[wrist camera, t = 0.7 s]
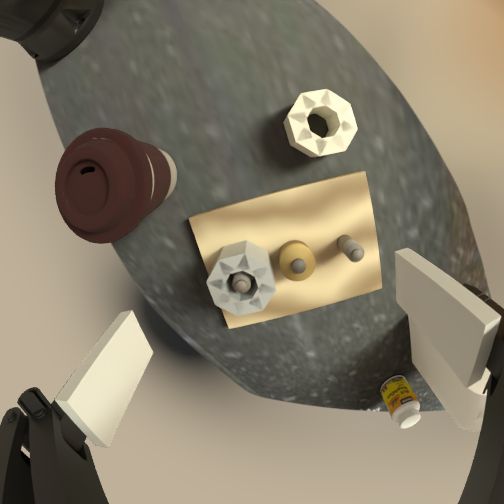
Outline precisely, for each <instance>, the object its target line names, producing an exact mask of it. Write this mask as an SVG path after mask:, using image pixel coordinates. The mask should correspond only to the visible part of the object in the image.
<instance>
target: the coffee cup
mask: <svg viewBox="0 0 504 504" xmlns="http://www.w3.org/2000/svg"><path fill="white" fill-rule="evenodd" d="M176 181H177V170H176V166H175V164H174V161H173V160H172V158H171V157H170V156H169V155H168V154H167V153H166V152H164V151H162V150H160V149H157V148H156V147H154V146H153V145H150V144H148V143H145V142H141V141H138V140H135V139H134V138H133V137H131V136H130V135H128V134H127V133H125V132H123V131H120V130H116V129H110V128H96V129H92V130H89V131H86V132H84V133H83V134H81V135H80V136H78V137H77V138H76V139H75V140H74V141H73V142H72V143H71V144H70V145H69V146H68V147H67V149H66V150H65V152H64V154H63V155H62V158H61V160H60V162H59V165H58V168H57V172H56V180H55V195H56V201H57V205H58V208H59V211H60V213H61V215H62V217H63V219H64V221H65V223H66V224H67V225H68V227H69V228H70V229H71V230H72V231H73V232H74V233H75V234H76V235H78V236H79V237H81V238H83V239H85V240H87V241H89V242H93V243H101V244H102V243H110V242H113V241H116V240H118V239H120V238H122V237H124V236H125V235H127V234H128V233H130V232H131V231H132V230H134V229H135V228H136V227H137V226H138V224H139V223H140V222H141V220H142V219H143V217H145V216H146V215H147V214H149V213H150V212H152V211H153V210H154V209H156V208H157V207H158V206H159V205H160V204H161V203H162V202H163V201H164V200H166V199H167V198H168V197H169V196H170V195H171V193H172V192H173V190H174V188H175V185H176Z"/></svg>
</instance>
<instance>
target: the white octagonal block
mask: <svg viewBox="0 0 504 504" xmlns="http://www.w3.org/2000/svg"><path fill="white" fill-rule="evenodd" d="M311 114H317V115H319V116H321V117H322V118H324V119H326V122H327V126H328V129H329V131H328V133H327V134H326V136H325V138H321V137H319V136H318V135H316V134H314V133H313V132H311V131H310V128H309V125H308V121H307V117H308V115H311ZM283 123H284V127H285V130H286V133H287V137H288V140H289V143H290V145H291V146H293V147H294V148H296V149H298V150H299V151H301V152H303V153H304V154H306V155H308V156H309V157H318V156H323V155H328V154H332V153H337V152H342V151H346V149H347V147H348V145H349V144H350V142H351V140H352V138H353V137H354V135H355V133H356V131H357V125H356V121H355V118H354V115H353V111H352V108H351V105H350V103H348V102H347V101H345V100H344V99H342V98H341V97H339V96H337V95H336V94H334V93H333V92H331V91H329V90H328V89H324V90H318V91H312V92H306V93H301V94H300V96H299V97H298V99H297V101H296V102H295V104H294V105H293V107H292V109H291V110H290V112H289V114H288V115H287V117H286V119H285V120H284V122H283Z"/></svg>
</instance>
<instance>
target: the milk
mask: <svg viewBox="0 0 504 504" xmlns="http://www.w3.org/2000/svg"><path fill="white" fill-rule="evenodd" d="M408 319H409V329H410V340H411V353H412V363H413V364H414V365H415V367H416V368H417V370H418V371H419V372H420V374H421V375H422V376H423V378H424V379H425V381H426V382H427V383H428V385H429V386H430V388H431V389H432V391H433V392H434V393H435V395H436V396H437V398H438V399H439V401H440V402H441V404H442V405H443V407H444V408H445V410H446V411H447V413H448V414H449V416H450V417H451V419H452V420H453V422H454V423H455V425H456V426H457V427H458V428H459V429H461V430H465V431H481V427H482V421H483V416H484V410H485V403H486V396H487V390H486V392H485V394H482V393H483V390H484V388H485V385H486V383H487V381H488V378H489V376H490V371H489V370H488V369H487V368H485V371H484V374H483V376H482V379H481V380H479V381H478V382H476V383H475V384H473V385H471V386H469V387H468V388H465V386H464V385H463V384H462V382H461V381H460V379H459V378H458V377H457V375H456V374H455V373H454V371H453V370H452V369H451V367H450V366H449V365H448V363H447V362H446V361H445V360H444V358H443V357H442V356H441V354H440V353H439V352H438V351H437V349H436V348H435V347H434V346H433V344H432V343H431V342H430V341H429V339H428V338H427V337H426V336H425V335H424V333H423V332H422V331H421V330H420V329H419V327H418V326H417V325H416V324H415V323H414V321H413V320H412V319H411V318H410V317H409V316H408Z"/></svg>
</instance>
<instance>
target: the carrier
mask: <svg viewBox="0 0 504 504" xmlns="http://www.w3.org/2000/svg"><path fill="white" fill-rule="evenodd" d="M189 221H190V224H191V227H192V230H193V233H194V235H195V238H196V241H197V244H198V247H199V250H200V253H201V256H202V258H203V261H204V264H205V267H206V269H207V272H208V275H210V272H211V270H212V268H213V265H214V263H215V262H216V260H217V258H218V256H219V254H220V252H221V250H222V249H223V247H224V246H226V245H230V244H234V243H237V242H241V241H245V240H248V241H250V242H252V243H254V244H255V245H257V246H259V247H261V248H263V249H265V250H267V251H268V253H269V257H270V261H271V264H272V268H273V271H274V277H275V284H276V292H275V293H274V295H273V296H272V298H271V299H270V301H269V302H268V304H267V305H266V307H265V308H264V310H263V311H259V312H255V313H250V314H246V315H242V316H236V315H234V314H232V313H230V312H228V311H226V310H224V309H222V308H221V309H222V312H223V315H224V317H225V320H226V322H227V325H228V327H229V329H230V328H235V327H240V326H244V325H249V324H253V323H258V322H262V321H266V320H270V319H275V318H279V317H283V316H287V315H291V314H295V313H298V312H302V311H306V310H310V309H314V308H317V307H321V306H324V305H328V304H331V303H335V302H338V301H342V300H345V299H348V298H352V297H355V296H358V295H362V294H365V293H368V292H371V291H374V290H377V289H380V288H382V279H381V269H380V259H379V251H378V243H377V235H376V228H375V222H374V216H373V210H372V204H371V198H370V193H369V188H368V183H367V178H366V174H365V171H358V172H353V173H349V174H344V175H340V176H336V177H331V178H327V179H323V180H319V181H315V182H311V183H307V184H303V185H299V186H295V187H291V188H287V189H283V190H279V191H276V192H272V193H268V194H264V195H261V196H257V197H254V198H250V199H246V200H243V201H239V202H236V203H233V204H229V205H226V206H222V207H219V208H216V209H212V210H209V211H206V212H202V213H199V214H196V215H193V216H191V217H190V218H189ZM231 276H232V278H233V283H232V285H233V288H234V290H236V291H237V292H240V293H244V292H247V291H248V290H249V289H250V287H251V280H253V279H254V276H252V275H250V274H248V273H247V272H245V271H240V272H236V273H232V274H231Z"/></svg>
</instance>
